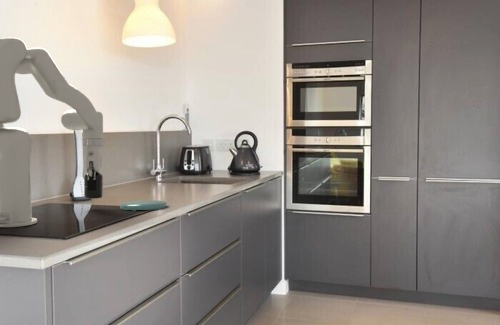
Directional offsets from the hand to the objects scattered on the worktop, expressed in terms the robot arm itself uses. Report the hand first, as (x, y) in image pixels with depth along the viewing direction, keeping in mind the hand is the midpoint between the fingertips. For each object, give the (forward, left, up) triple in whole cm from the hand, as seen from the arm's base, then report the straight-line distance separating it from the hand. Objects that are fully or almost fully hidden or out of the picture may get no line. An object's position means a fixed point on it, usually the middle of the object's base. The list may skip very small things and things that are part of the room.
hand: (93, 189), depth 195 cm
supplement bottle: (0, 0, -4) cm, 4 cm away
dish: (+10, -16, -8) cm, 20 cm away
